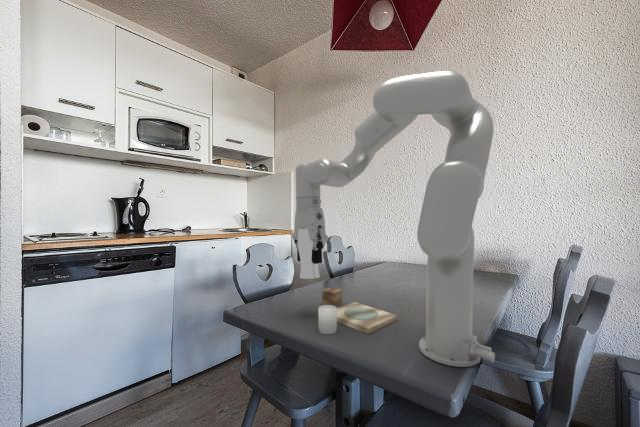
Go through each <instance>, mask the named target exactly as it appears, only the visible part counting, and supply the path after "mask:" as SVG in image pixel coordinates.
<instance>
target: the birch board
mask: <svg viewBox="0 0 640 427" xmlns="http://www.w3.org/2000/svg"><path fill="white" fill-rule="evenodd" d="M396 321H398V315H397V314H394V313H392V312H388V311H385V310H381V309H379V308H376V307H372V306H369V305H366V304H362V303H359V302H355V301H354V302H351V303H348V304H346V305H343V306H340V307H339V306H338V307H337V323H339V324H342V325H344V326H346V327H348V328H352V329H354V330H356V331H358V332H361V333H363V334H366V335H369V334H371V333H374V332H375V331H378V330H380V329H382V328H384V327H387V326H389V325H390V324H392V323H394V322H396Z"/></svg>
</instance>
